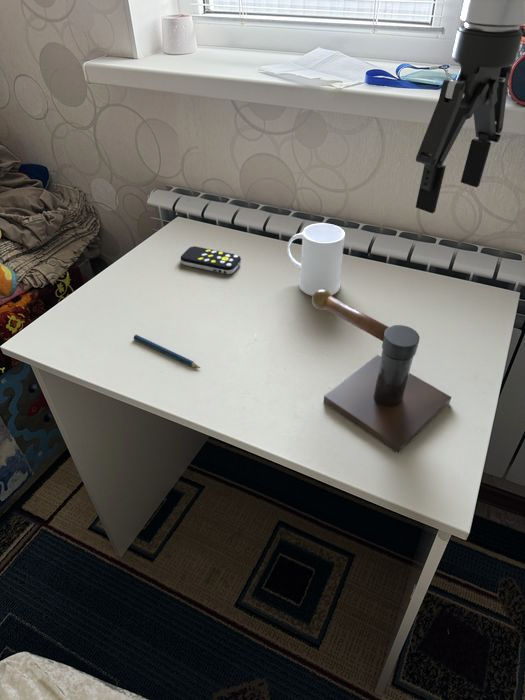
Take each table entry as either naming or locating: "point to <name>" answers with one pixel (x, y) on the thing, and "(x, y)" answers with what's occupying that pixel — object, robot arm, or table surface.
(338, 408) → the valve stand
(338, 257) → the mug
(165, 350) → the pencil
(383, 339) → the handle
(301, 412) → the table surface
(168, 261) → the table surface
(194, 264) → the remote control
